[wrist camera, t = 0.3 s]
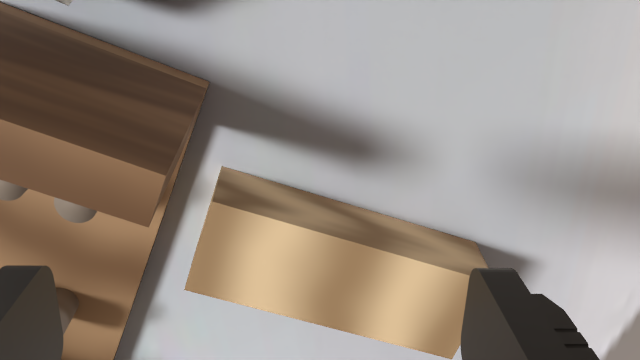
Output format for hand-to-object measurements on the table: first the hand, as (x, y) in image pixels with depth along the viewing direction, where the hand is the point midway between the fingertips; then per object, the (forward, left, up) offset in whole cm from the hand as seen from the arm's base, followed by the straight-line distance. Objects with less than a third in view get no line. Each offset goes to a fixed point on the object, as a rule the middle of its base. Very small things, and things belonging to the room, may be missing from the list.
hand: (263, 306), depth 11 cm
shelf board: (+8, +6, -18) cm, 20 cm away
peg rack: (+12, -8, -17) cm, 23 cm away
